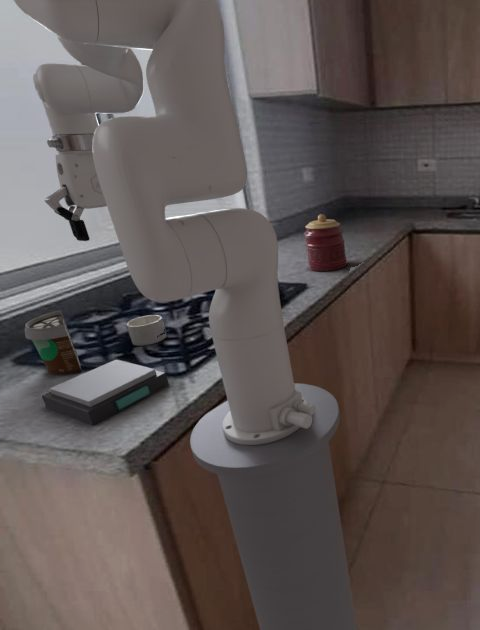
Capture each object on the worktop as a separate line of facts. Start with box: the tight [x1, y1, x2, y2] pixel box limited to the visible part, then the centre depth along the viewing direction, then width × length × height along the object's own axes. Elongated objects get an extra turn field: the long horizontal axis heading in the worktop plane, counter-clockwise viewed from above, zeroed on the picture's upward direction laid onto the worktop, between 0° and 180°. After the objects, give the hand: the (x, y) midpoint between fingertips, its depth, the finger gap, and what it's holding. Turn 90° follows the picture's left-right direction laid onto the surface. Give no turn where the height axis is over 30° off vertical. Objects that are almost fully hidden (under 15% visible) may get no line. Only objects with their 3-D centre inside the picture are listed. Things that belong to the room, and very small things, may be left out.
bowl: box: [125, 314, 168, 347], centre depth 98 cm, size 7×7×4 cm
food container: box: [24, 310, 82, 376], centre depth 85 cm, size 12×6×10 cm, turn 40°
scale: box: [41, 359, 170, 426], centre depth 75 cm, size 14×13×4 cm
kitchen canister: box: [303, 213, 348, 272], centre depth 147 cm, size 13×13×18 cm
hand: (108, 235), depth 90 cm, fingers open, 9 cm apart
